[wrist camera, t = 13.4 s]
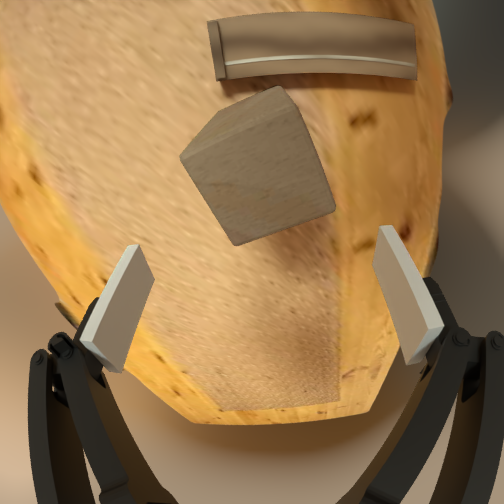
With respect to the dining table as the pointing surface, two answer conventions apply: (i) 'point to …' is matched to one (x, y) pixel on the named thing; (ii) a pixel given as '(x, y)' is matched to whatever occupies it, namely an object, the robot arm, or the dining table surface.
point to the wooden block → (259, 167)
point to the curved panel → (312, 45)
